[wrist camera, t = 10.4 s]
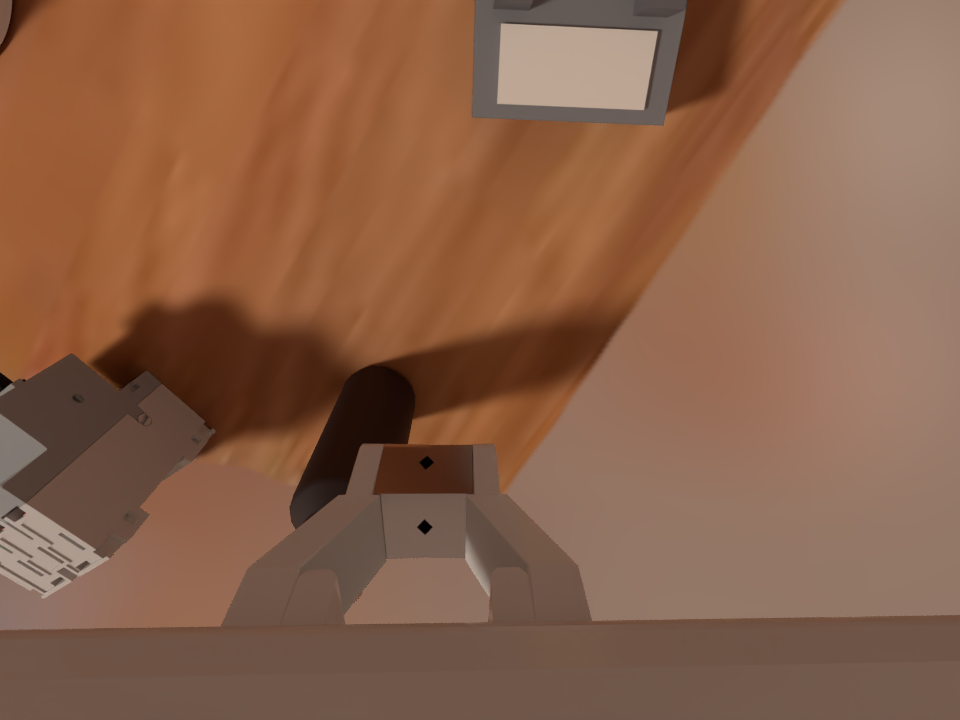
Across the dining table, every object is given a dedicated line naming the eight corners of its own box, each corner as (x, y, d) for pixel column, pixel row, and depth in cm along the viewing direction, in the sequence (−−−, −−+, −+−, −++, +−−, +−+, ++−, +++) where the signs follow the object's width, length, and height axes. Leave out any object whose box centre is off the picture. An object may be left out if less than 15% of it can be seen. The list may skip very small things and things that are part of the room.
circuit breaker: (87, 318, 40) (-102, 420, 27) (216, 430, 46) (112, 560, 33) (34, 361, 42) (-167, 476, 29) (164, 464, 48) (47, 600, 35)
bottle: (339, 418, 46) (256, 613, 28) (347, 357, 42) (259, 533, 25) (409, 431, 46) (371, 629, 29) (421, 373, 43) (388, 553, 26)
